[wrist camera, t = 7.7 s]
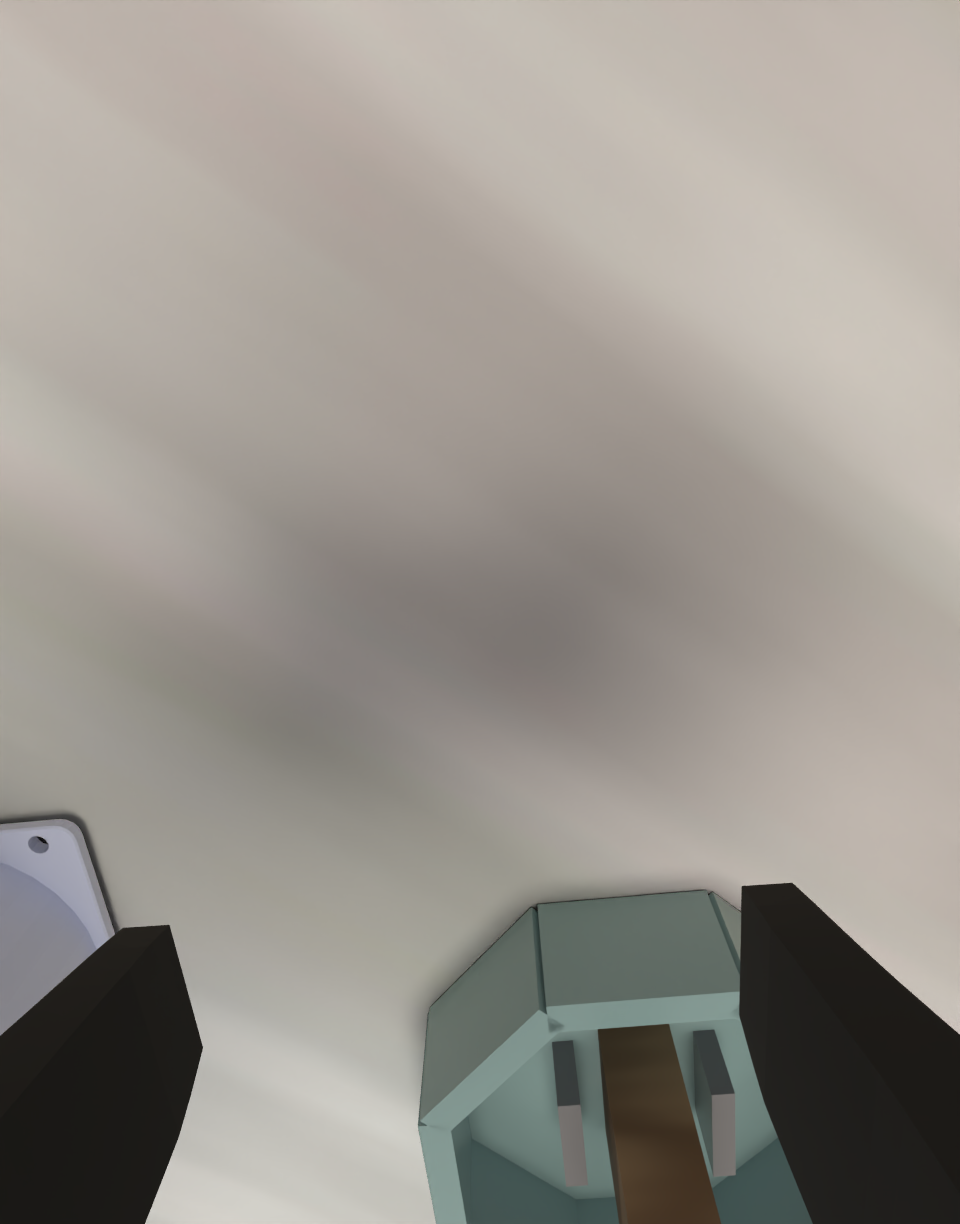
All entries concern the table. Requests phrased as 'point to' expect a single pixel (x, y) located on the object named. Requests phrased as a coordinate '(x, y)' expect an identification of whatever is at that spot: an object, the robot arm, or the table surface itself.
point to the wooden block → (652, 1130)
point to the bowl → (592, 1063)
